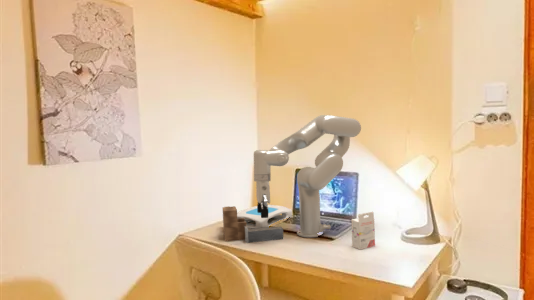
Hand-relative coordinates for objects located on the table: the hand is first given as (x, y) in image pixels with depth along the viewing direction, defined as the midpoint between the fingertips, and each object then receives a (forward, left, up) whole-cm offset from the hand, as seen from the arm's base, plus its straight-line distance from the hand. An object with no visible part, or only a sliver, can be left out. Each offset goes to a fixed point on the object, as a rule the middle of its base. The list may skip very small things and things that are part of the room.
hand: (262, 215), depth 172 cm
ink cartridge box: (-39, +21, -12) cm, 46 cm away
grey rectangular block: (-1, 0, -12) cm, 12 cm away
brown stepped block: (+12, -14, -12) cm, 22 cm away
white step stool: (-5, -31, -12) cm, 34 cm away
